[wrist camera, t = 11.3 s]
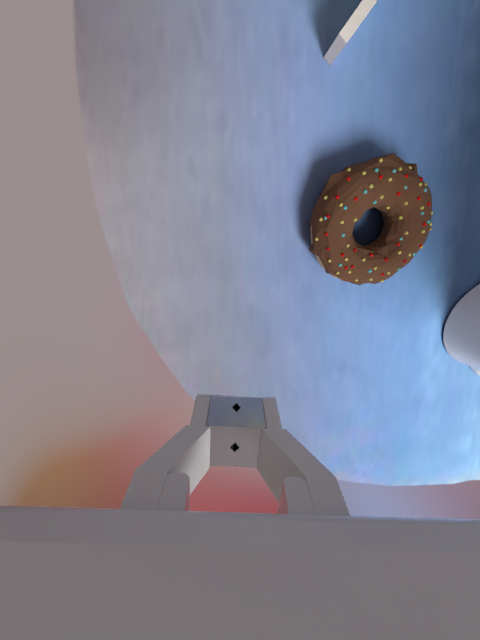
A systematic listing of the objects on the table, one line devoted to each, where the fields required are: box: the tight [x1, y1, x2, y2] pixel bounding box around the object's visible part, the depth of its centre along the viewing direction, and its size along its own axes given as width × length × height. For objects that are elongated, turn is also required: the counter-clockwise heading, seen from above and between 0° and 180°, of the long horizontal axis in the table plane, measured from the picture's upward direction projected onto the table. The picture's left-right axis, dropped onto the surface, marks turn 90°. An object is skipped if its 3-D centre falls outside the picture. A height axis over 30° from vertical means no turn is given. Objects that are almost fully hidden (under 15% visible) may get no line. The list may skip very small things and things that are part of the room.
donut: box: [309, 153, 433, 285], centre depth 31 cm, size 14×14×5 cm
